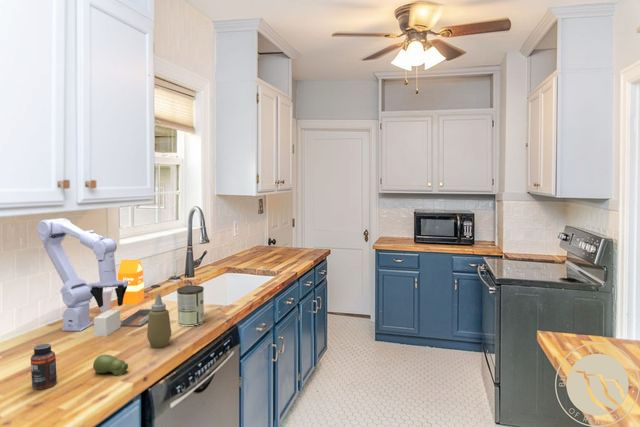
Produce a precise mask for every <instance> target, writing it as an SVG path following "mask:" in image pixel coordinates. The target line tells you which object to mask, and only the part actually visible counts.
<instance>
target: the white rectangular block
mask: <svg viewBox="0 0 640 427" xmlns="http://www.w3.org/2000/svg"><path fill="white" fill-rule="evenodd" d="M120 313H121V311H120V310H119V309H110V310H107V311H105V312H104V313H100V314H98V315H97V316H95V317H93V322H94V324H93V328H94V330H93V331H94V337H108V336H109V335H111V334H112V333H114V332H115V331H117V330H118V329H120V328H121V324H120V321H121V316H120Z"/></svg>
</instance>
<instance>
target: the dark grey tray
mask: <svg viewBox="0 0 640 427" xmlns="http://www.w3.org/2000/svg"><path fill="white" fill-rule="evenodd" d="M150 311H152V308H138V309H136V310H134V311H132V313H130V314H129V315H127V316H125V317H124V318H123V319H120V327H133V328H137V327H140V328H141V327H143V326H144V325H145V324H147V323H148V317H149V312H150Z"/></svg>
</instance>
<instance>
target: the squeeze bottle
mask: <svg viewBox="0 0 640 427" xmlns="http://www.w3.org/2000/svg"><path fill="white" fill-rule="evenodd" d="M166 305H167V304H166V303H164V302H163V300H162V296H161V294H160V293H158V294H156V295H155V300H154V303H153V304H151V306H150V307H151V309H152V311H150V312H149V317H148V322H147V331H146V337H147V339H148V342H149V345H150V347H152V348H155V347H157V348H162V347H163V346H164V347H166V346H168V345H169V343H170V339H171V336H172V328H171V321H170V312H169V310H168V309H167V307H166Z"/></svg>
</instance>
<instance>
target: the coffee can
mask: <svg viewBox="0 0 640 427" xmlns="http://www.w3.org/2000/svg"><path fill="white" fill-rule="evenodd" d="M204 290H205V288H204V286H201V285H184V286H180V287H178V288H176V292H177V293H176V294H177V324H179V325H178V326H180V325H184V326H189V325H196V324H200V323H202V322H203V321H204V322H205V306H204V305H205V304H204ZM202 324H203V323H202ZM184 326H183V327H184Z"/></svg>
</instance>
